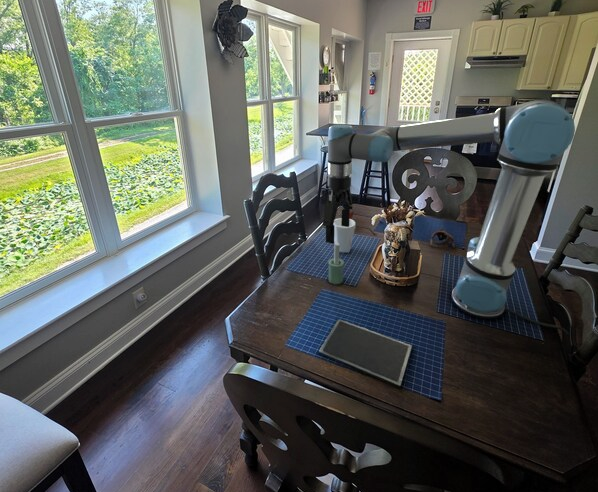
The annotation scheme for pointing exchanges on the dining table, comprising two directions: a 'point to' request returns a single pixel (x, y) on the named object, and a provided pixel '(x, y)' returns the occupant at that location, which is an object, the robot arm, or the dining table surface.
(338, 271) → the pen pot
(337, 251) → the stylus
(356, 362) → the tablet
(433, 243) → the pottery mug
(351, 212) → the glasses
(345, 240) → the foam cup
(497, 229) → the robot arm
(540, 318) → the dining table surface
